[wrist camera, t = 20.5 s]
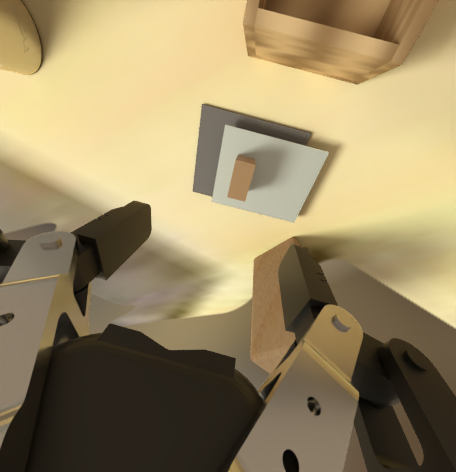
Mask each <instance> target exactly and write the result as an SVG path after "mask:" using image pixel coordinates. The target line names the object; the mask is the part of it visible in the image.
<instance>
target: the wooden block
mask: <svg viewBox="0 0 456 472" xmlns="http://www.w3.org/2000/svg"><path fill="white" fill-rule="evenodd" d="M291 244H295V245H299V246H301V245H300V243H299V242H298V241H297V240H296V238H294V237H292V238H290V239H288V240H287V241H285V242H283V243H281V244H280V245H278V246H276V247H274V248H273V249H271V250H269V251H267V252H266V253H264V254H262V255H260V256H258V257H257V258H255V259H254V272H253V300H252V327H251V354H250V355H251V360H252V361H253V362H255V363H256V364H258V365H259V366H260V367H262V368H263V369H264V370H266V371H267V372H268V373H270V374H271V373H272V372H273V370H274V369H275V367H276V366H277V364H278V363H279V361H280V360H281V358H282V357H283V355H284V354H285V352H286V351H287V350H288V348H289V347H290V345H291V344H292V342H293V341H294V340H295V339H296V338H295V333H293V332H289V331H285V324H284V316H283V309H282V301H281V293H280V286H279V278H278V270H279V266H280V264H281V262H282V260H283V258H284V256H285V254H286V252H287V250H288V249H289V247H290V245H291Z"/></svg>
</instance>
